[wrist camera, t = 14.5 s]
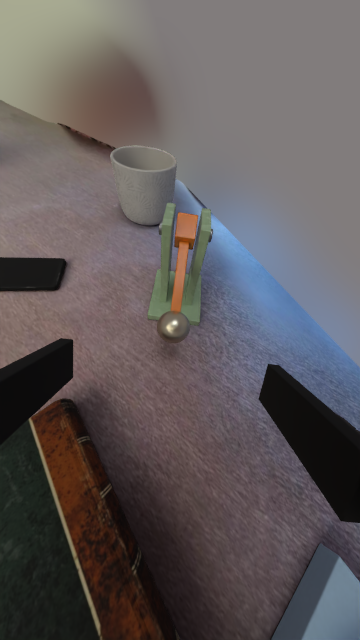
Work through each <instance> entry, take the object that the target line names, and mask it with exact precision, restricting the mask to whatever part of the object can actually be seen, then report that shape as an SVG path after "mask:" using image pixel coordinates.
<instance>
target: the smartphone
mask: <svg viewBox="0 0 360 640" xmlns="http://www.w3.org/2000/svg"><path fill="white" fill-rule="evenodd" d="M65 265H66V261H65V260H64V259H61V258H2V257H0V291H38V290H57V289H58V287H59V284H60V281H61V278H62V275H63V272H64V268H65Z"/></svg>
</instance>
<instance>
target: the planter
mask: <svg viewBox="0 0 360 640" xmlns="http://www.w3.org/2000/svg"><path fill="white" fill-rule="evenodd" d="M110 158H111V163H112V168H113V173H114V178H115V183H116V188H117V193H118V197H119V201H120V205H121V208H122V210H123V212H124V214H125V215H126V217H127V218H128V219H130V220H131V221H133V222H135V223H138V224H141V225H156V224H160V221H163V217H164V213H165V209H166V205H167V203H173V196H174V188H175V178H176V167H177V161H176V159H175V157H174V156H172V155H171V154H170V153H168V152H166V151H163V150H160V149H157V148H153V147H146V146H125V147H120V148H117V149H115V150H114V151H112V153H111V155H110Z"/></svg>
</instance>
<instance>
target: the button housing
mask: <svg viewBox="0 0 360 640" xmlns="http://www.w3.org/2000/svg"><path fill="white" fill-rule="evenodd" d="M271 640H360V582H359V580H358V579H357V578H356V577H355V575H354V574H353V573H352V571H351V570H350V569H349V568H348V566H347V565H346V564H345V562H344V561H343V560H342V559H341V557H340V556H338V555H337V554H336V553H334V552H333V551H331V550H330V549H328V548H327V547H325V546H324V545H322V544H321V543H320V544H319V546H318V548H317V550H316V552H315V554H314V556H313V558H312V560H311V562H310V564H309V566H308V568H307V570H306V572H305V574H304V576H303V578H302V580H301V581H300V583H299V585H298V587H297V589H296V591H295V593H294V595H293V597H292V599H291V601H290V603H289V605H288V607H287V609H286V611H285V613H284V615H283V617H282V619H281V621H280V623H279V625H278V627H277V629H276V631H275V633H274V635H273V637H272V639H271Z"/></svg>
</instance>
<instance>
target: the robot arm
mask: <svg viewBox="0 0 360 640" xmlns="http://www.w3.org/2000/svg"><path fill="white" fill-rule="evenodd" d="M72 378H73V340H71V339H63V338H61V339H59V340H57V341H55V342H53V343H51V344H49V345H47V346H45V347H43V348H41V349H39V350H37V351H35V352H33V353H31V354H29V355H27V356H25V357H23V358H21V359H19V360H17V361H15V362H13V363H11V364H9V365H7V366H5V367H3V368H1V369H0V445H1V444H2V443H4V442H5V441H6V440H7V439H8V438H9V437H10V436H11V435H12V434H13V433H14V432H15V431H16V430H17V429H18V428H20V427H21V426H22V425H23V424H24V423H25V422H26V421H27V420H28V419H29V418H30V417H31V416H32V415H33V414H35V413H36V412H37V411H38V410H39V409H40V408H41V407H42V406H43V405H44V404H45V403H46V402H47V401H48V400H49V399H51V398H52V397H53V396H54V395H55V394H56V393H57V392H58V391H59V390H60V389H61V388H62V387H63V386H64V385H66V384H67V383H68V382H69V381H70V380H71V379H72ZM259 400H260V402H261V403H262V405H263V406H264V408H265V409H266V411H267V412H268V414H269V415H270V417H271V418H272V420H273V421H274V422H275V424H276V425H277V427H278V428H279V430H280V431H281V433H282V434H283V436H284V437H285V439H286V440H287V442H288V443H289V445H290V446H291V448H292V449H293V451H294V452H295V454H296V455H297V457H298V458H299V460H300V461H301V463H302V464H303V465H304V467H305V468H306V470H307V471H308V473H309V474H310V476H311V477H312V479H313V480H314V482H315V483H316V485H317V486H318V488H319V489H320V491H321V492H322V494H323V495H324V497H325V498H326V500H327V501H328V503H329V504H330V506H331V507H332V508H333V510H334V511H335V513H336V514H337V516H338V517H339V519H340V520H341V521H344V522H355V523H360V432H359V431H358V430H356V428H355V427H353V426H352V425H351V424H350V423H349V422H347V421H346V420H345V419H344V418H342V417H340V416H339V415H337V414H336V413H334V412H333V411H332V410H331V409H330V408H328V407H327V406H326V405H325V404H324V403H323V402H321V401H320V400H319V399H318V398H317V397H316V396H314V395H313V394H312V393H311V392H310V391H308V390H307V389H306V388H305V387H304V386H303V385H301V384H300V383H299V382H298V381H297V380H296V379H294V378H293V377H292V376H291V375H290V374H289V373H287V372H286V371H285V370H284V369H283V368H281V367H280V366H279V365H272V364H268V366H267V370H266V374H265V377H264V381H263V385H262V389H261V392H260V396H259Z"/></svg>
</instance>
